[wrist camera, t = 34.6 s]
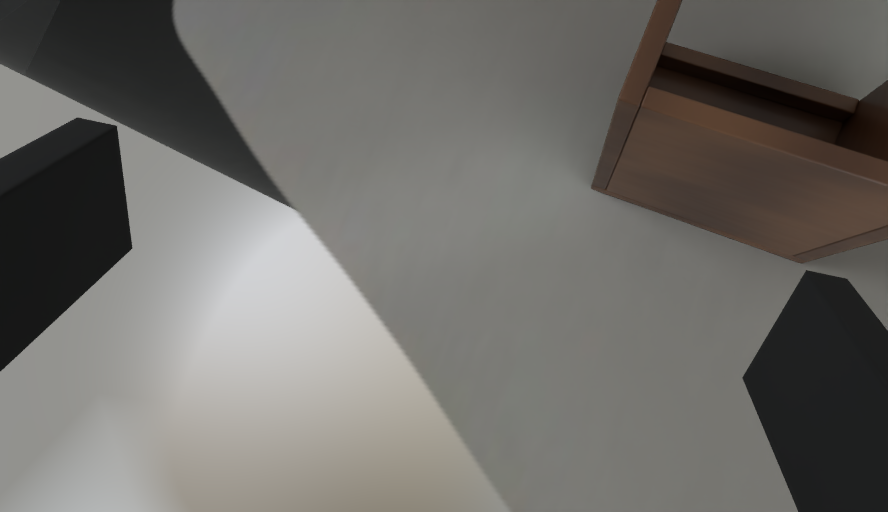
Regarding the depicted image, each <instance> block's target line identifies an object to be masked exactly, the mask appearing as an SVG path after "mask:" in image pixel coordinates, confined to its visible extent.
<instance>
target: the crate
mask: <svg viewBox="0 0 888 512" xmlns="http://www.w3.org/2000/svg"><path fill="white" fill-rule="evenodd" d="M681 2H682V0H657V2H656V5H655V7H654V10H653V12H652V15H651V17H650V20H649V22H648V25H647V27H646V30H645V32H644V35H643V37H642V40H641V42H640V45H639V47H638V50H637V52H636V54H635V57H634V59H633V62H632V64H631V67H630V69H629V72H628V74H627V77H626V79H625V82H624V84H623V87H622V89H621V92H620V94H619V97H618V100H617V103H616V107H615V110H614V113H613V116H612V120H611V123H610V126H609V130H608V133H607V136H606V140H605V143H604V146H603V149H602V153H601V156H600V159H599V163H598V166H597V169H596V172H595V176H594V179H593V182H592V185H591V189H593V190H596V191H599V192H602V193H605V194H607V195H610V196H613V197H616V198H619V199H621V200H624V201H627V202H630V203H633V204H636V205H638V206H641V207H644V208H647V209H650V210H652V211H655V212H658V213H661V214H664V215H666V216H669V217H672V218H675V219H678V220H680V221H683V222H686V223H689V224H692V225H694V226H697V227H700V228H703V229H706V230H709V231H711V232H714V233H717V234H720V235H723V236H725V237H728V238H731V239H734V240H737V241H739V242H742V243H745V244H748V245H751V246H753V247H756V248H759V249H762V250H765V251H767V252H770V253H773V254H776V255H779V256H782V257H784V258H787V259H790V260H793V261H796V262H798V263H804V262H807V261H811V260H815V259H818V258H822V257H825V256H829V255H833V254H836V253H840V252H843V251H847V250H851V249H854V248H858V247H861V246H865V245H868V244H872V243H876V242H879V241H883V240H886V239H888V80H887V81H886V82H884V83H883V84H882V85H880V86H879V87H878V88H876V89H875V90H874V91H872V92H871V93H870V94H868V95H867V96H866V97H864V98H863V99H862V100H860V101H859V100H858V99H855V98H851V97H848V96H845V95H841V94H838V93H835V92H831V91H828V90H825V89H821V88H818V87H815V86H811V85H808V84H805V83H801V82H798V81H795V80H791V79H788V78H785V77H781V76H778V75H775V74H771V73H768V72H764V71H761V70H758V69H754V68H751V67H748V66H744V65H741V64H738V63H734V62H731V61H728V60H724V59H721V58H718V57H714V56H711V55H708V54H704V53H701V52H698V51H694V50H691V49H688V48H684V47H681V46H678V45H674V44H671V43H668V42H666V40H667V38H668V35H669V33H670V30H671V28H672V25H673V23H674V20H675V18H676V15H677V13H678V10H679V8H680V5H681Z"/></svg>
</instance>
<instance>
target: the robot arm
mask: <svg viewBox="0 0 888 512" xmlns="http://www.w3.org/2000/svg"><path fill="white" fill-rule="evenodd" d="M131 249H132V242H131V234H130V226H129V218H128V211H127V202H126V194H125V186H124V179H123V172H122V163H121V155H120V147H119V139H118V131H117V126H115V125H110V124H105V123H100V122H96V121H91V120H86V119H82V118H76V119H74V120H72V121H70V122H68V123H66V124H64V125H63V126H61V127H59V128H57V129H55V130H53V131H51V132H49V133H48V134H46V135H44V136H42V137H40V138H38V139H36V140H34V141H32V142H31V143H29V144H27V145H25V146H23V147H21V148H19V149H17V150H16V151H14V152H12V153H10V154H8V155H6V156H4V157H3V158H1V159H0V371H1V370H2V369H4V368H5V367H6V366H7V365H8V364H9V363H10V362H11V361H12V360H13V359H14V358H15V357H16V356H18V355H19V354H20V353H21V352H22V351H23V350H24V349H25V348H26V347H27V346H28V345H29V344H30V343H31V342H33V341H34V339H36V338H37V337H38V336H39V335H40V334H41V333H42V332H43V331H44V330H45V329H46V328H47V327H49V326H50V325H51V324H52V323H53V322H54V321H55V320H56V319H57V318H58V317H59V316H60V315H61V314H62V313H64V312H65V311H66V310H67V309H68V308H69V307H70V306H71V305H72V304H73V303H74V302H75V301H76V300H78V299H79V298H80V296H82V295H83V294H84V293H85V292H86V291H87V290H88V289H89V288H90V287H91V286H93V285H94V284H95V283H96V282H97V281H98V280H99V279H100V278H101V277H102V276H103V275H104V274H105V273H106V272H107V271H109V270H110V269H111V268H112V267H113V266H114V265H115V264H116V263H117V262H118V261H119V260H120V259H121V258H122V257H124V256H125V255H126V254H127V253H128V252H129V251H130V250H131ZM743 380H744V383H745V385H746V387H747V390H748V392H749V395H750V397H751V399H752V402H753V404H754V407H755V409H756V411H757V414H758V416H759V419H760V421H761V423H762V426H763V428H764V430H765V433H766V435H767V438H768V440H769V442H770V445H771V447H772V450H773V452H774V454H775V457H776V459H777V462H778V464H779V466H780V469H781V471H782V474H783V476H784V478H785V481H786V483H787V485H788V488H789V490H790V493H791V495H792V497H793V500H794V502H795V505H796V507H797V509H798V512H888V331H887V329H886V328H885V327H884V326H883V324H882V323H881V322H880V320H879V319H878V318H877V317H876V315H875V314H874V313H873V311H872V310H871V309H870V308H869V306H868V305H867V304H866V302H865V301H864V300H863V299H862V297H861V296H860V295H859V293H858V292H857V291H856V290H855V288H854V287H853V286H852V284H851V283H850V282H849V281H848V279H845V278H840V277H835V276H831V275H826V274H821V273H816V272H812V271H807V270H806V272H805V273H804V275H803V277H802V279H801V280H800V282H799V284H798V285H797V287H796V289H795V290H794V292H793V294H792V295H791V297H790V299H789V300H788V302H787V304H786V305H785V307H784V309H783V310H782V312H781V314H780V315H779V317H778V319H777V321H776V322H775V324H774V326H773V327H772V329H771V331H770V332H769V334H768V336H767V337H766V339H765V341H764V342H763V344H762V346H761V347H760V349H759V351H758V352H757V354H756V356H755V357H754V359H753V361H752V363H751V364H750V366H749V368H748V369H747V371H746V373H745V374H744V376H743Z"/></svg>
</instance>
